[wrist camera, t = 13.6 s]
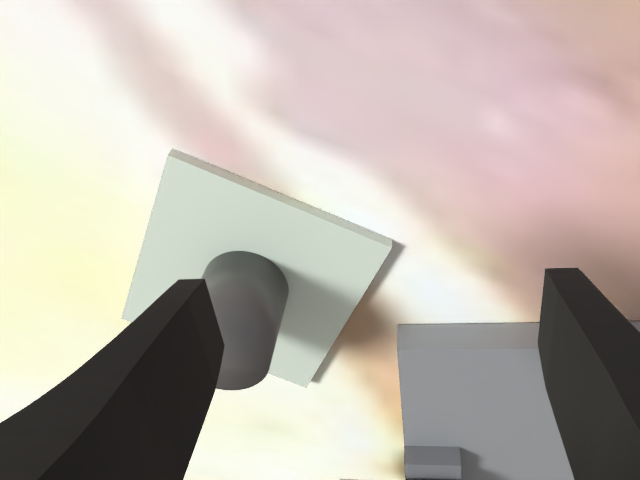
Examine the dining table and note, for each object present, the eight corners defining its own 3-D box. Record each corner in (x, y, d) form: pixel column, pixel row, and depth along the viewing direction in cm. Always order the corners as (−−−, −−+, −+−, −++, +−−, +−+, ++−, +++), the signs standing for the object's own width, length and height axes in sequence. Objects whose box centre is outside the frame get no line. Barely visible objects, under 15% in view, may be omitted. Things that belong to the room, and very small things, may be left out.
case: (817, 318, 23) (858, 366, 21) (725, 523, 30) (748, 573, 28) (397, 324, 25) (397, 367, 23) (411, 510, 33) (411, 555, 31)
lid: (392, 233, 23) (389, 318, 19) (309, 371, 28) (292, 462, 24) (176, 143, 22) (124, 213, 18) (130, 303, 27) (81, 386, 23)
